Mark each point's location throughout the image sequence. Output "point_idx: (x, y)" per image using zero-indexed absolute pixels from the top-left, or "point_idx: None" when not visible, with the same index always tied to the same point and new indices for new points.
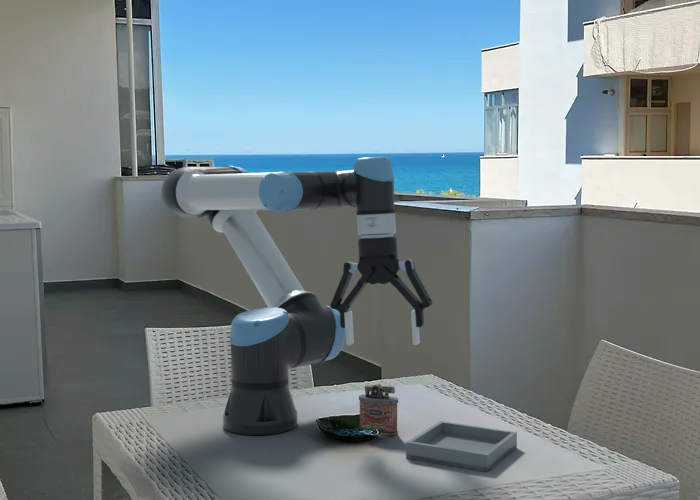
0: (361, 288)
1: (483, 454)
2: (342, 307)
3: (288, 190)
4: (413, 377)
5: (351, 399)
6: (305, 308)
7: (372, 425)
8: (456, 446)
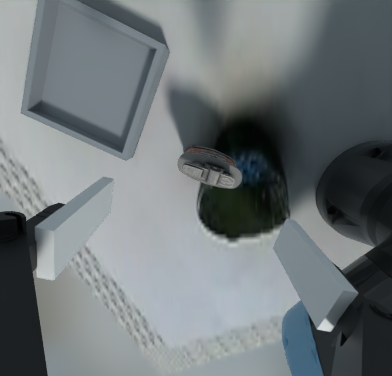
0: None
1: None
2: (382, 317)
3: None
4: (177, 368)
5: (244, 295)
6: None
7: (217, 154)
8: (105, 93)
